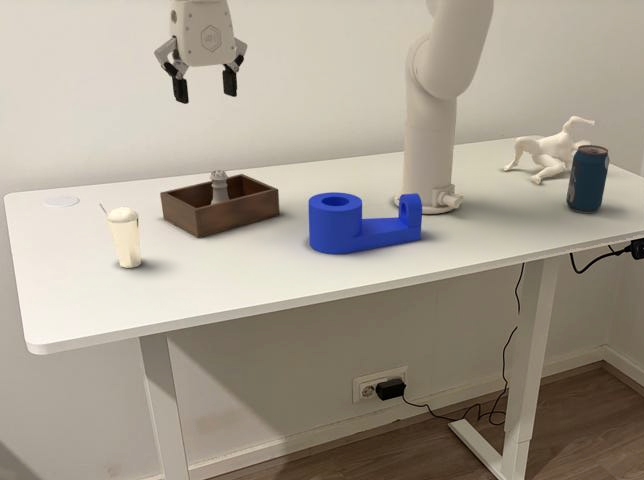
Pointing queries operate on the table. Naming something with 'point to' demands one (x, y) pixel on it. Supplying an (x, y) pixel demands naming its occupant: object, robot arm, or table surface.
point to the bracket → (359, 223)
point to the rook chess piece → (219, 186)
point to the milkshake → (125, 235)
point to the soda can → (587, 179)
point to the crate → (219, 205)
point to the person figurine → (550, 150)
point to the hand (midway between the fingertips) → (206, 98)
